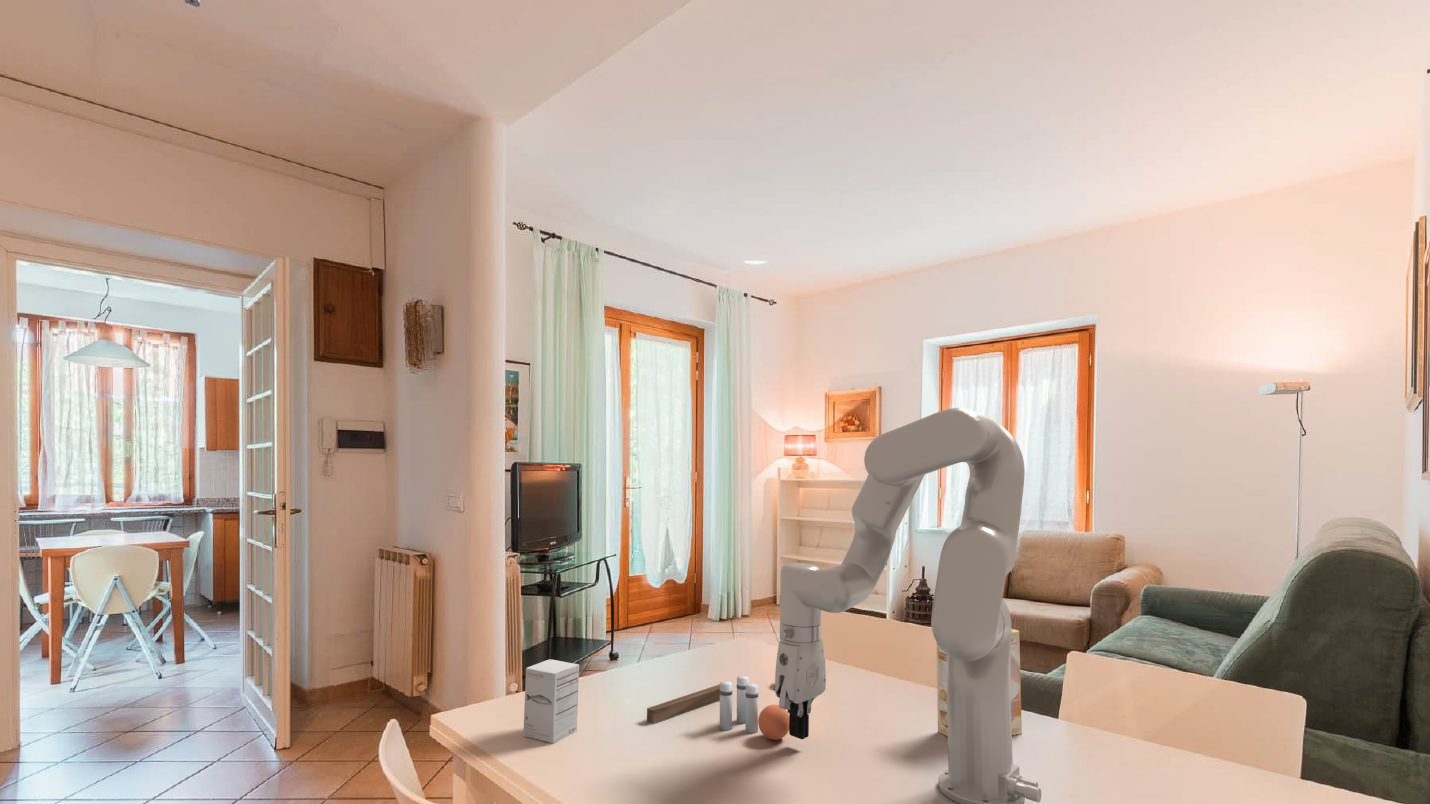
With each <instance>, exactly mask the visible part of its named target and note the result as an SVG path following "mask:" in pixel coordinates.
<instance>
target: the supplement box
mask: <svg viewBox="0 0 1430 804" xmlns="http://www.w3.org/2000/svg"><path fill="white" fill-rule="evenodd" d="M579 678H580V664H578V663H572V662H568V661H567V662H566V661H561V660H556V659H551V658H550V659H547V660H543V661H541V662H538V663H536V664H533V665H531V666H528V667H526V668H525V682H524V683H525V684H524V685H525V686H524V687H525V688H524V689H525V690H524V710H523V711H524V712H523V733H522V735H523V737H524V738H525V737H526V738H530V739H535V740H539V741H543V742H547V743H550V744H552V745H553V744H555V743H557V742H558V741H561V740H563V739H565V738H566V736H567V737H569V736H570V734H571V735H572V734H574V733H576V732H577V730H578V714H579V712H578V711H579V709H578V707H579V706H578V705H579V683H580V682H579V681H580V679H579ZM575 731H576V732H575ZM573 732H574V733H573ZM568 735H569V736H568Z"/></svg>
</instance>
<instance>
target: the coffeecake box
mask: <svg viewBox="0 0 1430 804" xmlns="http://www.w3.org/2000/svg"><path fill="white" fill-rule="evenodd" d="M1020 641H1021V640H1020V630H1018V629H1015V628H1012V627H1011V656H1010V678H1011V725H1012V735H1013V736H1018V735H1022V734H1023V730H1022V729H1023V726H1022V725H1023V724H1022V723H1023V721H1022V691H1021V690H1022V687H1021V686H1022V685H1021V683H1022V682H1021V652H1020V651H1021V650H1020V649H1021V648H1020V647H1021V645H1020ZM936 683H937V684H936V689H937V691H936V693H937V732H938V733H939V734H941V735H944V736H946V737H947V738H948V724H947V654H946V653H945V652H944V651H943V650H942V649H941V648H940V646H939V645H938V643H937V642H936ZM1016 734H1017V735H1016Z"/></svg>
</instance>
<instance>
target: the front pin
mask: <svg viewBox="0 0 1430 804" xmlns="http://www.w3.org/2000/svg"><path fill="white" fill-rule="evenodd" d="M745 696H746V723H745V732H747V733H749V734H756V733H758V732H759V724H758V719H759V685H758V684H757V683H749V684H747V685H746V692H745Z"/></svg>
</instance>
